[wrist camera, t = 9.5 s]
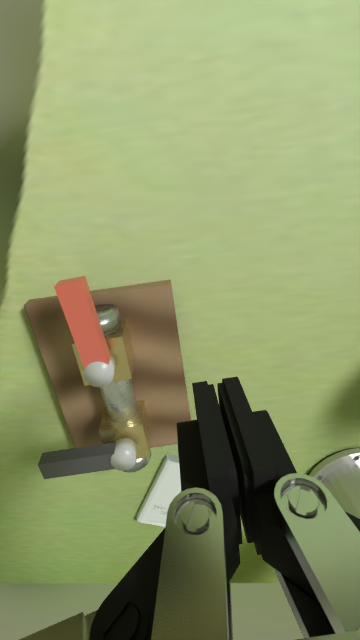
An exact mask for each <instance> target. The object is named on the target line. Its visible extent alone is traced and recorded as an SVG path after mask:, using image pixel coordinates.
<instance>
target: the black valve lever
mask: <svg viewBox="0 0 360 640" xmlns="http://www.w3.org/2000/svg"><path fill="white" fill-rule="evenodd" d="M136 450H137V445H136V443H135V442H134V441H133V440H131V439H128V438H121V439H118V440H117V441H115V442H114V443H107V444H100V445H94V446H87V447H80V448H73V449H66V450H60V451H53V452H46V453H43V454H42V456H41V458H40V461H39V463H38V466H39V468H40V471H41V473H42V475H43V477H44V479H49V478H56V477H63V476H69V475H76V474H83V473H90V472H96V471H103V470H110V469H117V470H121V471H125V470H129V469H131V468H132V467H133V466H134V465H135V462H136Z"/></svg>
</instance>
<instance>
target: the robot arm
mask: <svg viewBox="0 0 360 640" xmlns="http://www.w3.org/2000/svg"><path fill="white" fill-rule="evenodd" d="M192 385H193V393H194V400H195V408H196V415H197V420H192V421H185V422H178V423H177V438H178V452H179V467H180V481H181V492H180V493H179V494H178V495H177V496H175V497H174V499H173V500H172V502H171V503H170V505H169V509H168V512H167V519H166V527H165V529H164V530H163V531H162V532H161V533H160V535H159V536H158V537H157V538H156V539H155V541H154V542H153V543H152V544H151V545H150V546H149V548H148V549H147V550H146V551H145V552H144V554H143V555H142V556H141V557H140V558H139V560H138V561H137V562H136V563H135V564H134V566H133V567H132V568H131V569H130V570H129V571H128V573H127V574H126V575H125V576H124V577H123V579H122V580H121V581H120V582H119V583H118V585H117V586H116V587H115V588H114V589H113V590H112V592H111V593H110V594H109V595H108V596H107V598H106V599H105V600H104V601H103V603H102V604H101V606H100V607H99V609H98V610H96V611H94V612H92V613H89V614H87V615H85V616H84V614H83V612H81V613H79V614H77V615H75V616H72V617H70V618H68V619H66V620H63V621H61V622H58V623H56V624H54V625H52V626H49V627H47V628H45V629H43V630H40V631H38V632H36V633H33V634H31V635H29V636H26V637H24V638H22V639H20V640H233V624H232V605H231V587H230V580H231V578H232V576H233V574H234V573H235V571H236V569H237V568H238V566H239V564H240V554H239V544H242V532H241V519H242V523H243V527H244V531H245V535H246V539H247V542H248V543H252V542H254V544H255V548H256V552H257V555H260V554H262V558H263V560H264V561H265V562H267V563H268V564H269V565H271V566H272V567H273V568H275V571H276V574H277V578H278V580H279V582H280V585H281V587H282V589H283V591H284V594H285V596H286V598H287V601H288V603H289V605H290V607H291V610H292V612H293V614H294V616H295V619H296V621H297V623H298V626H299V628H300V630H301V633H302V635H303V637H304V639H297V640H360V448H355V449H348V450H344V451H341V452H338V453H336V454H333V455H331V456H330V457H328V458H326V459H324V460H323V461H322V462H320V463H319V464H318V465H317V466H316V467H315V468H314V469H313V470H312V472H311V473H310V474H309V475H306V474H300V473H297V472H296V470H295V468H294V466H293V464H292V462H291V459H290V457H289V455H288V453H287V451H286V449H285V447H284V445H283V443H282V441H281V439H280V437H279V434H278V432H277V430H276V428H275V426H274V424H273V422H272V420H271V418H270V416H269V414H268V412H267V411H266V410H262V411H255V412H252V410H251V408H250V405H249V403H248V401H247V398H246V396H245V393H244V391H243V388H242V386H241V384H240V381H239V379H238V377H232V378H225V379H222V383H218V396H219V404H218V400H217V396H216V393H215V389H214V385H213V384H211V385H208V384H207V381H204V382H197V383H192ZM240 515H241V518H240Z"/></svg>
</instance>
